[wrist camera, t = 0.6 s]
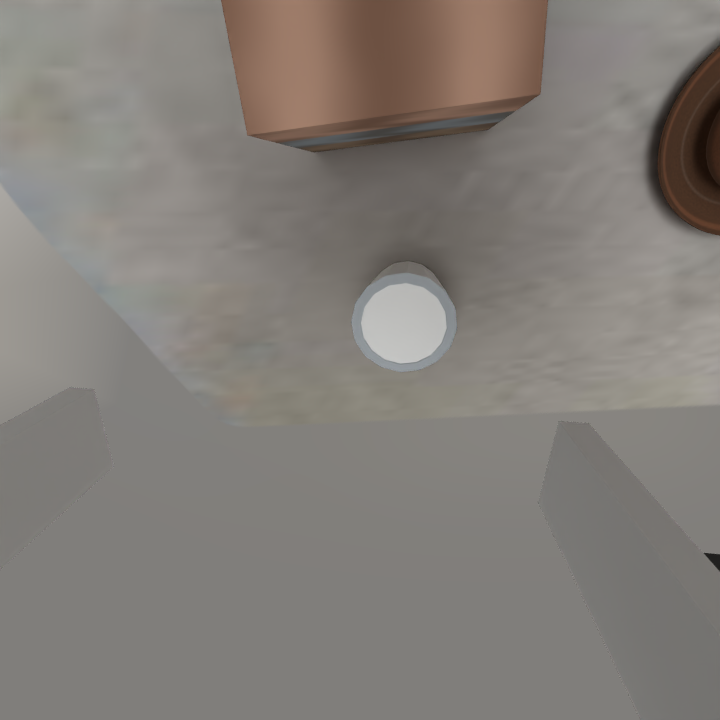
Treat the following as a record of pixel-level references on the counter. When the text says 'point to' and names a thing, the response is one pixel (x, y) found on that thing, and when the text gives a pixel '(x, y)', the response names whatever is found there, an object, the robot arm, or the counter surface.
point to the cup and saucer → (694, 149)
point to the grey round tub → (404, 318)
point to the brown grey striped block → (382, 67)
